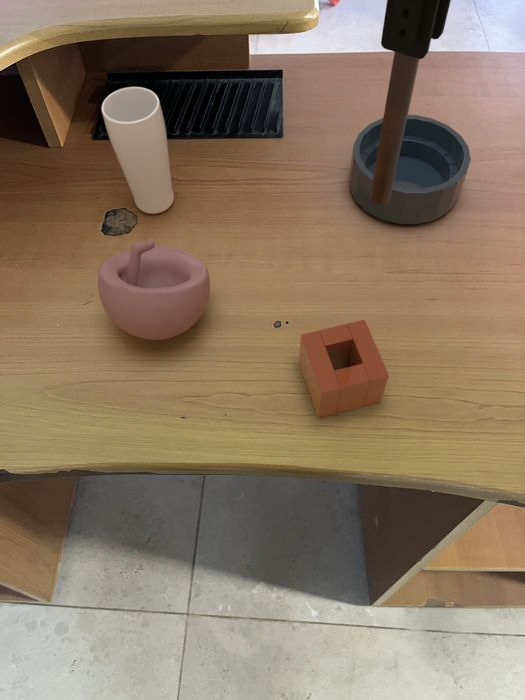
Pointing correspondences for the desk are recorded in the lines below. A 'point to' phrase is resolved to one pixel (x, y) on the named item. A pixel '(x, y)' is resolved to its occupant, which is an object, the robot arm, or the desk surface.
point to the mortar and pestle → (154, 290)
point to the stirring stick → (393, 126)
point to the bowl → (412, 171)
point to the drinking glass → (140, 146)
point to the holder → (340, 352)
